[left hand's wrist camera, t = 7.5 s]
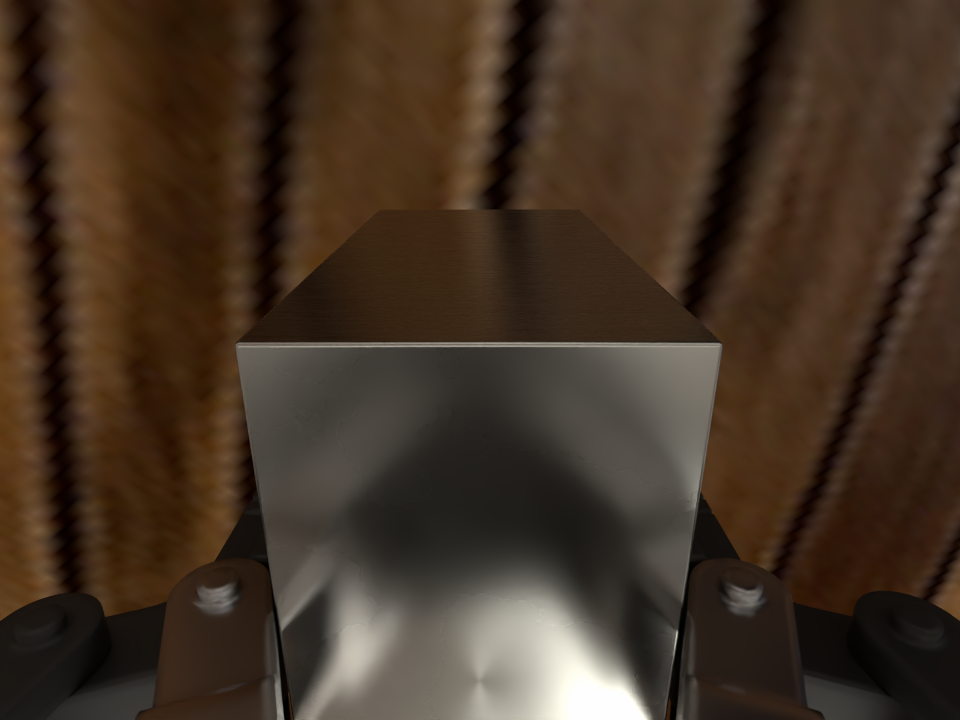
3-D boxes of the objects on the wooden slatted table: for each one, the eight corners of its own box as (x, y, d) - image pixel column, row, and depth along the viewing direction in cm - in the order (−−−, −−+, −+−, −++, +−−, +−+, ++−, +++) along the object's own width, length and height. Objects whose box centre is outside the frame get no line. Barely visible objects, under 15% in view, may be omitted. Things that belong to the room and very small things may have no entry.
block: (397, 520, 19) (319, 900, 10) (379, 209, 15) (232, 343, 6) (561, 520, 19) (639, 899, 10) (580, 209, 15) (725, 343, 6)
